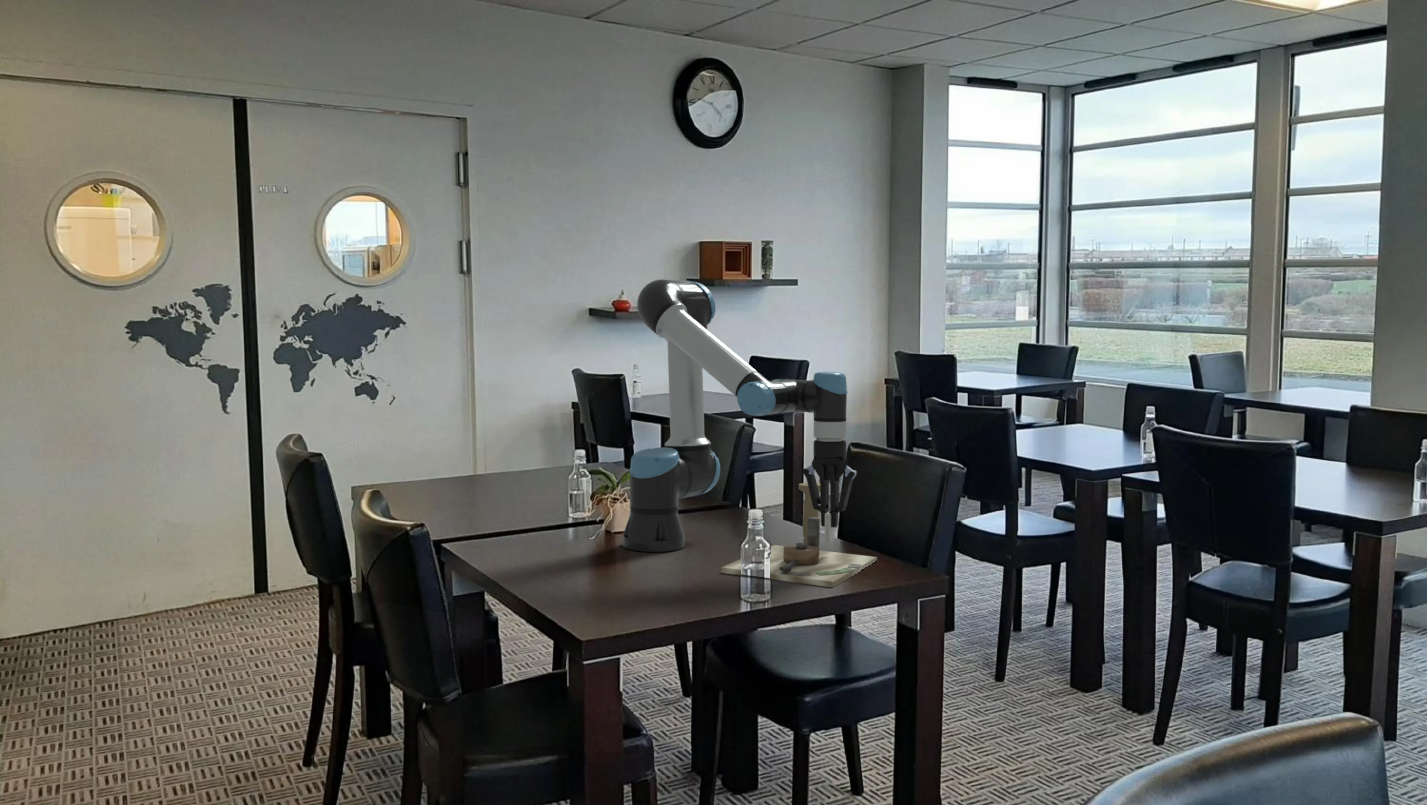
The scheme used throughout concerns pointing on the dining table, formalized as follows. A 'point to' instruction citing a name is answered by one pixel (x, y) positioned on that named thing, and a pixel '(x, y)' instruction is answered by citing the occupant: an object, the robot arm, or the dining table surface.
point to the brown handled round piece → (804, 548)
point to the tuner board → (812, 568)
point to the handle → (807, 508)
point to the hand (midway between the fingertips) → (829, 540)
